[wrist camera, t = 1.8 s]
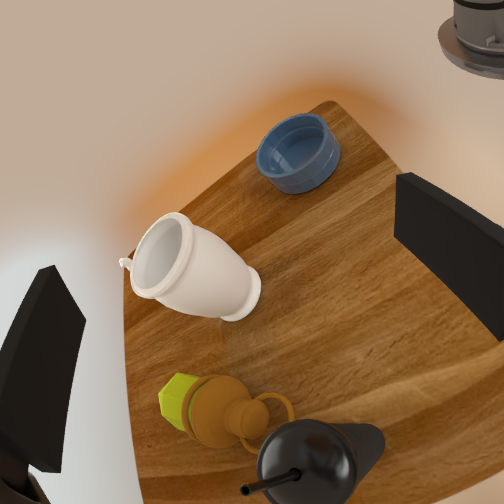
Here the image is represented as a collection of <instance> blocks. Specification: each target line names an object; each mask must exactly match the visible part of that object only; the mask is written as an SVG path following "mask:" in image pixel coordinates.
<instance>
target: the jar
mask: <svg viewBox="0 0 504 504" xmlns="http://www.w3.org/2000/svg"><path fill="white" fill-rule="evenodd" d="M130 280H131V285H132V288H133V290H134V292H135V293H136V294H137V295H138V296H141V297H144V298H147V299H154V298H155V299H156V300H158V301H159V302H161V303H162V304H164V305H166V306H167V307H169V308H171V309H174V310H176V311H179V312H182V313H185V314H190V315H196V316H203V317H209V318H219V317H220V318H222V319H223V320H225V321H238V320H240V319H242V318H244V317H246V316H247V315H248V314H249V313H250V312H251V311H252V310H253V308H254V307H255V305H256V304H257V302H258V299H259V297H260V292H261V280H260V277H259V275H258V273H257V271H256V270H255V269H253V268H252V267H250V266H247V265H246V264H245V262H244V261H243V260H242V258H241V257H240V256H239V255H238V254H237V253H236V252H234V251H233V250H232V249H231V247H230V246H229V245H228V244H226V243H225V242H224V241H223V240H222V239H220V238H219V237H218V236H216V235H215V234H213V233H211V232H209V231H207V230H205V229H203V228H201V227H198V226H196V225H192V223H191V221H190V220H189V219H188V218H187V217H186V216H185V215H183V214H180V213H177V212H173V213H169V214H166V215H164V216H163V217H161V218H159V219H158V220H157V221H156V222H155V223H154V224H153V225H152V226H151V227H150V228H149V229H148V231H147V232H146V233H145V235H144V236H143V238H142V239H141V241H140V243H139V245H138V247H137V249H136V251H135V254H134V257H133V260H132V265H131V272H130Z"/></svg>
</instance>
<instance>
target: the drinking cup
mask: <svg viewBox="0 0 504 504" xmlns="http://www.w3.org/2000/svg"><path fill="white" fill-rule="evenodd" d="M384 447H385V439H384V436H383V434H382V432H381V431H380V430H379V429H378V428H377V427H375V426H373V425H371V424H331V423H326V422H323V421H319V420H313V419H302V420H295V421H291V422H288V423H286V424H284V425H282V426H280V427H278V428H277V429H276V430H274V431H273V432H272V433H271V434H270V435H269V436H268V437H267V439H266V440H265V441H264V443H263V445H262V447H261V449H260V452H259V455H258V459H257V477H258V481H256V482H253V483H249V484H245V485H242V486H241V487H240V492H241V494H242V495H244V496H249V495H252V494H255V493H259V492H262V491H263V493H264V495H265V496H266V498H267V499H268V500H269V501H270V502H271V503H272V504H345V503H346V502H347V501H348V500H349V499H350V497H351V496H352V494H353V493H354V491H355V489H356V486H357V485H358V483H359V482H360V481H361V480H362V479H363V478H364V476H365V475H366V474H367V473H368V471H369V470H370V469H371V468H372V467H373V465H374V464H375V463H376V461H377V460H378V459H379V458H380V456H381V455H382V453H383V451H384Z"/></svg>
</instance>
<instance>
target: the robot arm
mask: <svg viewBox="0 0 504 504" xmlns="http://www.w3.org/2000/svg"><path fill="white" fill-rule="evenodd" d="M453 1H454V23H453V26H454V31H455V35H456V38H457V39H458V41H459V42H460V43H461V44H462V45H464V46H465V47H467V48H469V49H471V50H473V51H476V52H479V53H482V54H487V55H494V56H504V0H453ZM394 237H395V238H396V239H397V240H398V241H400V242H401V243H402V244H403V245H404V246H405V247H406V248H407V249H408V250H410V251H411V252H412V253H413V254H414V255H415V256H416V257H417V258H418V259H419V260H420V261H421V262H423V263H424V264H425V265H426V266H427V267H428V268H429V269H430V270H431V271H432V272H433V273H434V274H435V275H436V276H437V277H438V278H439V279H440V280H441V281H442V282H443V283H444V284H445V285H446V286H447V287H448V288H449V289H450V290H451V291H452V292H453V293H454V294H455V295H456V296H457V297H458V298H459V299H460V300H461V301H462V302H463V303H464V304H465V305H466V306H467V307H468V308H469V309H470V310H471V311H472V312H473V313H474V314H475V315H476V317H477V318H478V319H479V320H480V321H481V322H482V323H483V324H484V325H485V326H486V327H487V328H488V330H489V331H490V332H491V333H492V334H493V335H494V336H495V337H496V339H497V340H498V341H499V342H501V341H502V340H503V339H504V228H502V227H501V226H499V225H498V224H495V223H493V222H492V221H491V220H489V219H488V218H486V217H485V216H483V215H482V214H480V213H478V212H477V211H476V210H474V209H472V208H471V207H469V206H468V205H466V204H465V203H463V202H462V201H460V200H458V199H457V198H455V197H453V196H452V195H450V194H448V193H447V192H445V191H443V190H442V189H440V188H438V187H437V186H435V185H433V184H431V183H430V182H428V181H426V180H424V179H423V178H421V177H419V176H417V175H415V174H414V173H412V172H410V173H404V174H399V175H396V205H395V225H394ZM85 323H86V319H85V317H84V315H83V314H82V312H81V311H80V309H79V307H78V306H77V304H76V302H75V300H74V299H73V297H72V295H71V294H70V292H69V290H68V288H67V287H66V285H65V283H64V281H63V280H62V278H61V276H60V274H59V272H58V270H57V269H56V267H55V265H52V266H49V267H46V268H43V269H40V270H39V271H38V273H37V274H36V277H35V278H34V280H33V282H32V284H31V286H30V288H29V289H28V291H27V293H26V295H25V297H24V299H23V301H22V303H21V305H20V307H19V309H18V312H17V314H16V316H15V318H14V320H13V322H12V325H11V327H10V329H9V331H8V333H7V336H6V338H5V340H4V343H3V345H2V347H1V350H0V504H51V503H50V502H49V500H48V499H47V497H46V495H45V494H44V492H43V490H42V489H41V487H40V485H39V483H38V482H37V480H36V478H35V477H34V476H33V474H32V473H30V472H28V467H29V464H30V465H32V466H33V467H35V468H36V469H38V470H40V471H41V472H48V473H61V465H62V453H63V443H64V435H65V427H66V419H67V412H68V406H69V400H70V394H71V388H72V382H73V377H74V372H75V367H76V362H77V357H78V353H79V348H80V344H81V340H82V335H83V331H84V327H85Z"/></svg>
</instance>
